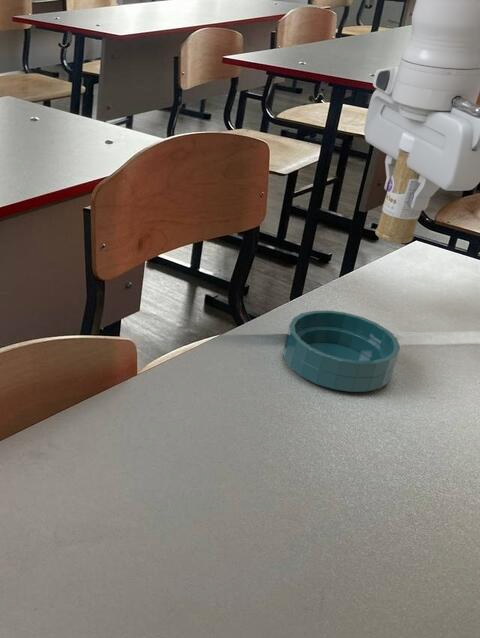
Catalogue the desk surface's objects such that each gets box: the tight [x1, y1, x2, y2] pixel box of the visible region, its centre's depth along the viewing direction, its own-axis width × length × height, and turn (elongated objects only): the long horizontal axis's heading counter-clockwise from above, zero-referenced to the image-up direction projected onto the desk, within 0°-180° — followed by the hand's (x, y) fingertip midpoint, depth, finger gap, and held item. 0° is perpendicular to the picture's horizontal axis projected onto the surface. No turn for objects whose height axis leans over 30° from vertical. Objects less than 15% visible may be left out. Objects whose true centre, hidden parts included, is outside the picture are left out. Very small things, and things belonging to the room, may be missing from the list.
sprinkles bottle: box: [375, 133, 422, 244], centre depth 94 cm, size 5×5×13 cm
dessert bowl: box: [282, 309, 401, 393], centre depth 92 cm, size 12×12×4 cm
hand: (404, 200), depth 95 cm, fingers closed on sprinkles bottle, 4 cm apart
